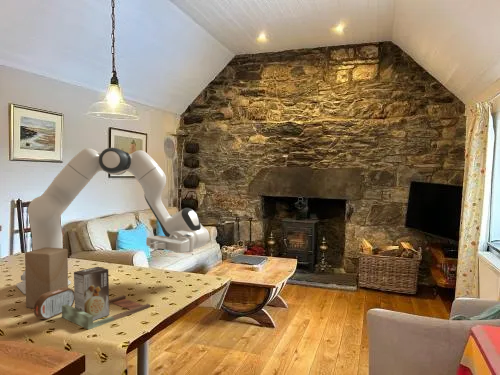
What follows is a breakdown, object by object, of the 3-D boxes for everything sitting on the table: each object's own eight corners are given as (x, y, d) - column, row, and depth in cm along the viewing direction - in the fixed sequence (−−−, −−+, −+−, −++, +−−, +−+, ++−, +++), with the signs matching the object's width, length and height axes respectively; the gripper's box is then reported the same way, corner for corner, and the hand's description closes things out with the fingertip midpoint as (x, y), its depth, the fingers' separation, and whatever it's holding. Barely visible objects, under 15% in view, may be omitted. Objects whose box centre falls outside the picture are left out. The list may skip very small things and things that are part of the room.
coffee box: (99, 310, 132) (98, 265, 132) (109, 315, 129) (109, 269, 128) (73, 319, 125) (73, 271, 124) (84, 324, 121) (83, 274, 120)
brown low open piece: (62, 317, 126) (61, 305, 126) (123, 297, 146) (123, 287, 146) (88, 329, 117) (88, 317, 117) (150, 307, 136) (150, 296, 136)
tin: (70, 306, 136) (69, 283, 136) (76, 307, 135) (76, 284, 135) (32, 322, 122) (32, 296, 122) (40, 323, 121) (39, 298, 121)
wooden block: (49, 310, 132) (48, 254, 131) (25, 308, 134) (24, 252, 133) (68, 300, 142) (68, 248, 141) (45, 298, 144) (45, 247, 143)
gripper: (162, 231, 163) (135, 235, 152) (196, 237, 151) (169, 241, 140) (161, 245, 164) (135, 250, 152) (195, 252, 152) (169, 258, 140)
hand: (152, 246), depth 146 cm, fingers closed
